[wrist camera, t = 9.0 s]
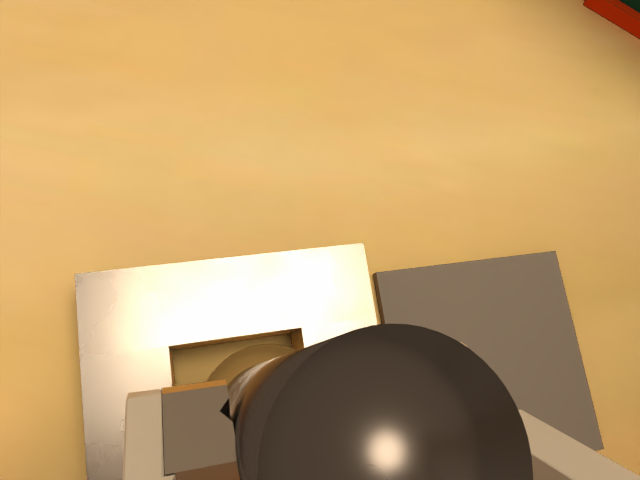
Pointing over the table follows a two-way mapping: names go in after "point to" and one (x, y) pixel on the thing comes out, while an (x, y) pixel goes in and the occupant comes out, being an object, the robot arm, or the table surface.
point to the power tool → (619, 13)
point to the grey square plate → (504, 329)
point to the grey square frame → (201, 323)
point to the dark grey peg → (373, 410)
